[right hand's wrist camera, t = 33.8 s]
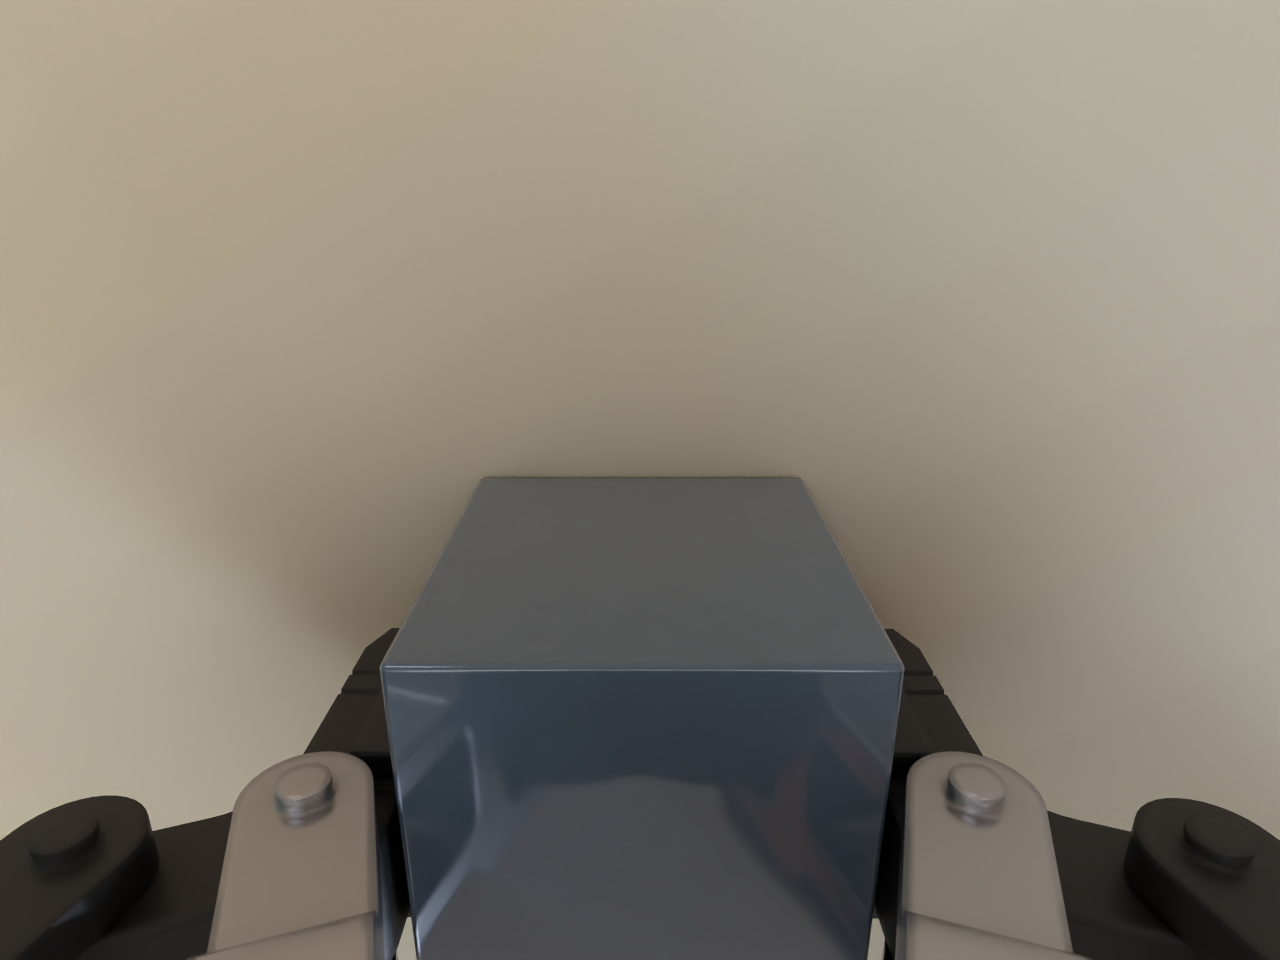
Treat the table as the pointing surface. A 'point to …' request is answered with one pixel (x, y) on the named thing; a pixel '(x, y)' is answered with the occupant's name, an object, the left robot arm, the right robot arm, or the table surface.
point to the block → (641, 727)
